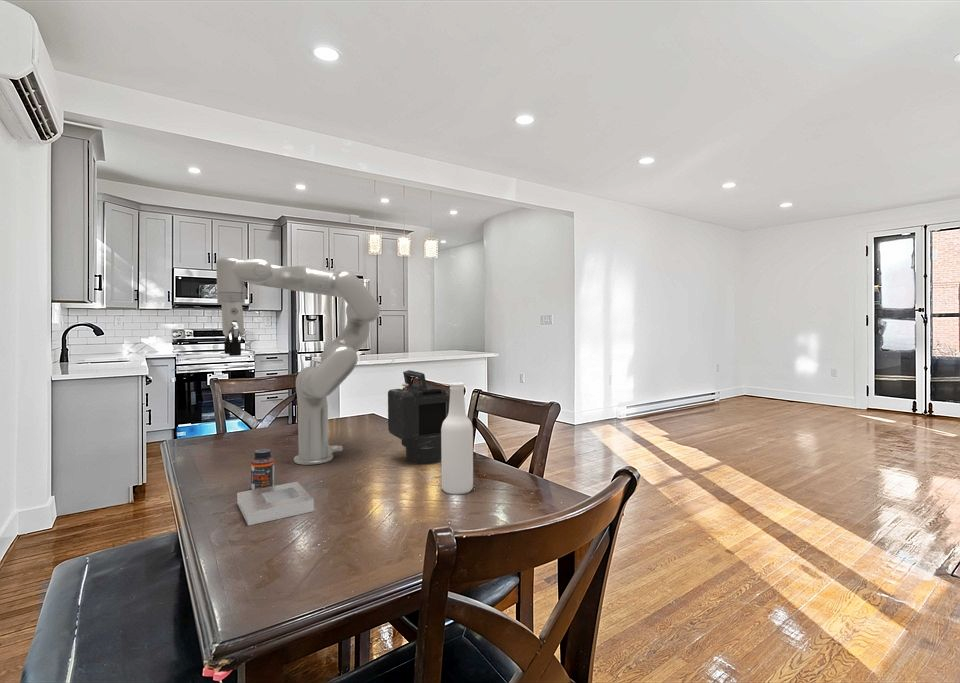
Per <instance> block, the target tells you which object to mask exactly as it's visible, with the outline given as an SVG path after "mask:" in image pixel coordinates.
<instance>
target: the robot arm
mask: <svg viewBox="0 0 960 683" xmlns="http://www.w3.org/2000/svg"><path fill="white" fill-rule="evenodd" d="M215 268H216V296H217V297H216V300H217V301H216V302H217V304H220V305H221V324H222V325H221V326H222V334H223V335H224V342H223V343H224V345H223V346H224V350H223V351H224V354H225V355H229V357H234V356H235V357H237V356H239V357H240V356H241V355H242V343H241V336H244V334H245V326H244V323H245V322H244V313H243V312H244V311H243V304H244V305H245V303H246V298H245V297H246V296H245V295H246V293H245V289H246V288H245V282H247V283H248V284H250V285H254V286H261V287H268V288H274V289H281V290H290V291H294V292H302V293H309V294H315V295H321V296H322V295H323V296H328V297H335V298H342V299H343V300H344V301H345V303H347V305H346V307H345V315H346V326H345V327H344V328H343V330H342V331H341V332H340V334H339V335H338V336H336V337H335V339H333V340H332V342H331V343H330V344H329V345H327V347H325V349H324V350H323V351H322V352H321V354H320V363H319V365H317V366H314V365H313V366H306V367H304V368H302V369H301V370H300V371H299V372H298V373H297V376H296V378H295V391H296V398H297V427H298V428H297V429H298V430H297V431H298V434H297V435H298V440H297V441H298V454H297V455H295V456H294V457H293V462H294V463H295V464H298V465H304V466H305V465H307V466H310V465H311V466H312V465H319V464H320V465H321V464H324V463H328V462H330V461H332V460H333V459H334V452H343V451H344V450H343V449H344V448H343V445H342V444H341V445H336V444H334V445H330V444H329V421H328V420H329V415H328V414H329V412H328V411H329V409H328V408H329V407H328V404H329V403H328V397H329V396H330V395H331V394H332V393H334V392H335V391H336V389H338V387H339V386H341V384H343V382H344V381H345V380H346V379H347V378H349V377H348V376H350V374H352V372H353V371H354V370H355V369H356V366H357V364H358V354H357V353H358V352H359V350H360V349H361V348H362V347H363V346H364V344H365V343H366V342H367V340H368V338H369V336H370V326H371V324H370V323H372V322H374V321H376V320H377V319H378V318H379V316H380V312H381V308H380V304H379V303H378V301H377V299H376V298H375V297H374V296H373V295H372V293H371V292H370V291H369V289H368V288H367V287H366V286H365V284H364V283H363V282H362V281H361V280H360V279H359V277H357V275H356V274H354V273H353V272H351V271H348V270H342V271H334V270H329V269H322V268H317V267H313V266H305V265H293V266H285V265H284V266H283V265H275V264H271V263H270V262H268V261H267V260H265V259H263V258H258V257H257V258H256V257H255V258H236V257H220V258H218V259H216V267H215Z"/></svg>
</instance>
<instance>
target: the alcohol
mask: <svg viewBox="0 0 960 683" xmlns="http://www.w3.org/2000/svg"><path fill="white" fill-rule="evenodd" d="M464 385H465V383H464V382H461V381H453V382H449V396H450V401H449V413H448V416H447V417H446V419H445V420H444V421H443V423H442V428H441V463H440V464H441V489H442V490H443V492H444V493H447V494H449V495H458V496H459V495H466V494H468V493H470V492H471V491H472V490H473V487H474V428H473V427H474V426H473V422H472V421H471V420H470V418H469V417H468V415H467V413H466V402H465V392H464V390H465V387H464Z"/></svg>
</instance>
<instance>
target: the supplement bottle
mask: <svg viewBox="0 0 960 683" xmlns="http://www.w3.org/2000/svg"><path fill="white" fill-rule="evenodd" d="M250 472H251V473H250V475H251V476H250V479H251V480H250V485H251V486H250V488H251V489H250V490H255V489H260V488H266V487H271V486H276V485H275V459H274V457H273V456H272V455H271V449H269V448H260V449H257V450H255V451H254V457H253V458H252V459H251V462H250Z"/></svg>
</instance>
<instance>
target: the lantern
mask: <svg viewBox="0 0 960 683" xmlns="http://www.w3.org/2000/svg"><path fill="white" fill-rule="evenodd" d="M402 373H403V378H404V383H402V385H401V386H402V388H394V389H393V388H392V389H389V390H388V391H387V430H388V432H389V433H390V434H391V435H392V436H394V437H396V438H398V439H400V440H401V446H402V447H405V460H406V462H408V463H409V464H415V465H431V464H436V463H438V462H440V461H441V428H442V423H443V421H444V420H445V419H446V417H447V416H448V413H449V401H450V394H449V395H448V391H447V390H446V389H444V388H441V387H437V386H432V385H429V384H427V381H426V375H425V373H423V372H419V371H414V370H410V369H409V370H405V371H402ZM412 377H414V378H417V379H418V384H413V380H412Z"/></svg>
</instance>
